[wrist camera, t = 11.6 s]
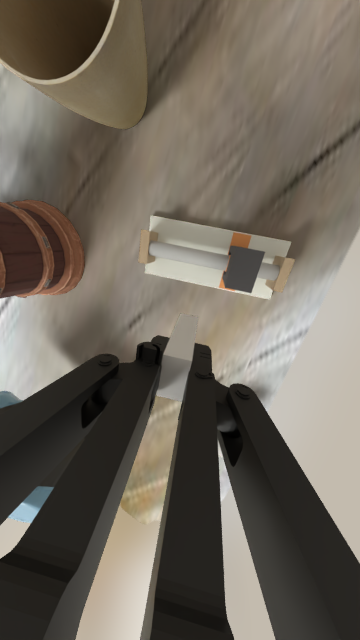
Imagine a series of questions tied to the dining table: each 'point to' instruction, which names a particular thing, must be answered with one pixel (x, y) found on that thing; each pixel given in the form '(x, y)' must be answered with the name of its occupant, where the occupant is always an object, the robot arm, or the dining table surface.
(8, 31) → the plant pot
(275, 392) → the dining table surface
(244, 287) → the dark grey slider block
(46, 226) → the mug
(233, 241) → the rail
